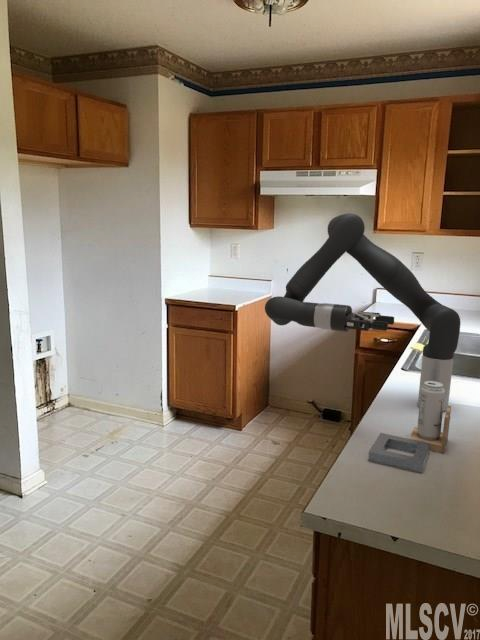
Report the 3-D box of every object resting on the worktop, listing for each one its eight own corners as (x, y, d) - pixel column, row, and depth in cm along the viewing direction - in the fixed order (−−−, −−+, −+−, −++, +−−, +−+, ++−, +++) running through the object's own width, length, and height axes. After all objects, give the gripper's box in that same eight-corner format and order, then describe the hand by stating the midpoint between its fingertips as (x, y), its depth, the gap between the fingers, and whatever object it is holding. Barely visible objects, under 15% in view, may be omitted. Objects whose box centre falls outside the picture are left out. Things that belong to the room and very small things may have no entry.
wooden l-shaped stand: (413, 433, 149) (417, 400, 147) (447, 440, 145) (451, 406, 143) (408, 445, 141) (411, 410, 139) (443, 453, 137) (447, 417, 135)
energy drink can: (438, 442, 139) (444, 388, 135) (415, 437, 141) (420, 385, 138) (441, 434, 144) (446, 382, 141) (418, 429, 147) (423, 378, 143)
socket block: (379, 441, 143) (380, 432, 143) (429, 451, 138) (430, 443, 137) (368, 460, 132) (369, 451, 131) (422, 473, 126) (423, 463, 126)
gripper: (325, 308, 142) (386, 314, 135) (340, 300, 154) (397, 305, 147) (324, 334, 143) (384, 342, 136) (339, 325, 156) (394, 331, 149)
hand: (390, 323), depth 142 cm, fingers open, 8 cm apart
